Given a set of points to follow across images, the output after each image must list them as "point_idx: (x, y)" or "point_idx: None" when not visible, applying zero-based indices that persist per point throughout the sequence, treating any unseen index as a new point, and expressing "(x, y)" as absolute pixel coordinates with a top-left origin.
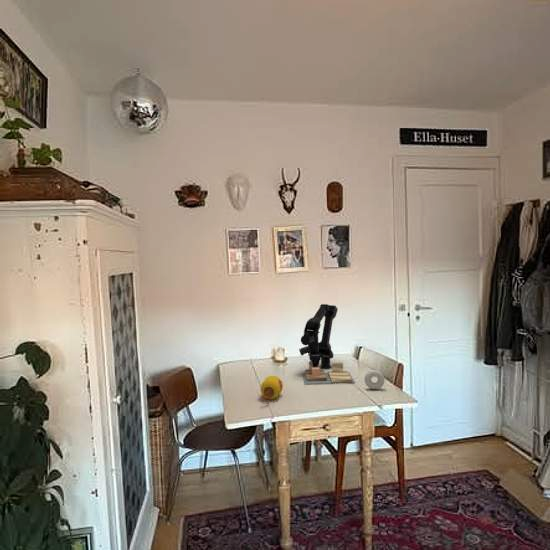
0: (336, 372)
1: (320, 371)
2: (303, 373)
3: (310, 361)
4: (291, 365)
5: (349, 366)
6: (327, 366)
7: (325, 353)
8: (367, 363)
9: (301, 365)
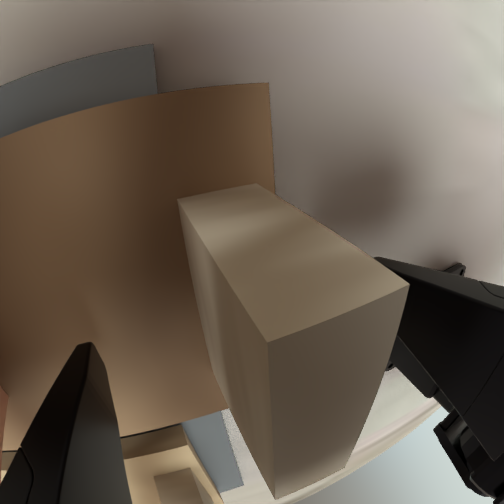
0: (150, 491)
1: (150, 394)
2: (151, 62)
3: (380, 345)
4: (496, 11)
5: (379, 424)
6: (395, 358)
7: (479, 460)
8: (390, 446)
9: (498, 93)
